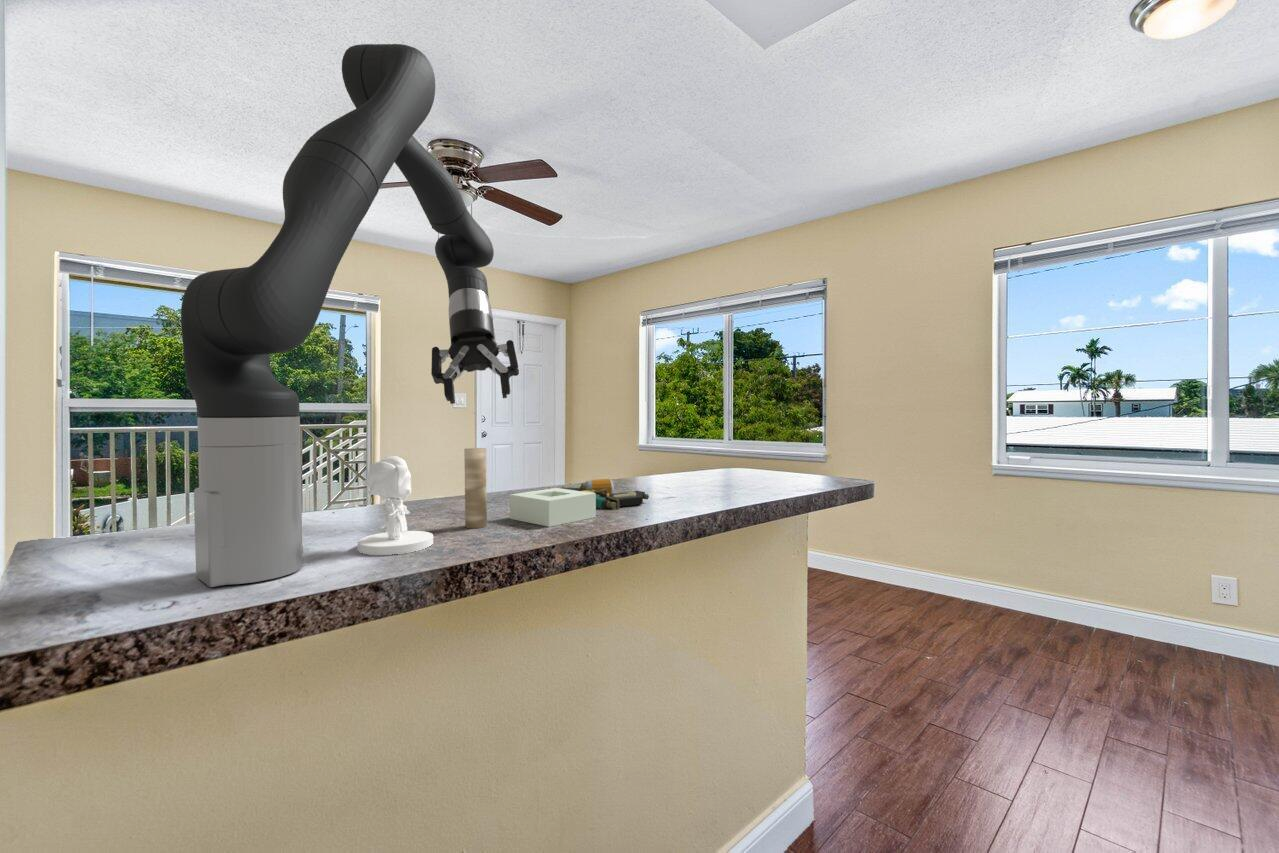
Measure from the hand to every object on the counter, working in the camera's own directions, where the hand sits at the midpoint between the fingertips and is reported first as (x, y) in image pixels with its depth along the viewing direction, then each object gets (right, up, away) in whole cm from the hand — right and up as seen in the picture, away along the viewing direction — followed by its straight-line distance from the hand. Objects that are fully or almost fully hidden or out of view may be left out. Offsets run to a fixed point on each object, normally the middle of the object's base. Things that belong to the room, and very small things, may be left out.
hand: (478, 398), depth 94 cm
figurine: (-5, -21, -20) cm, 29 cm away
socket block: (+13, -20, -1) cm, 23 cm away
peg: (+2, -20, -7) cm, 21 cm away
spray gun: (+19, -20, +14) cm, 31 cm away
